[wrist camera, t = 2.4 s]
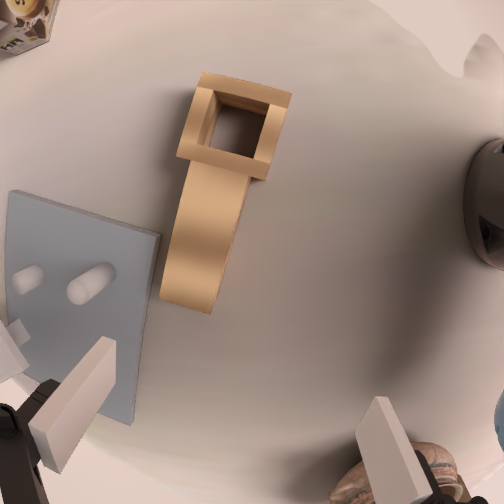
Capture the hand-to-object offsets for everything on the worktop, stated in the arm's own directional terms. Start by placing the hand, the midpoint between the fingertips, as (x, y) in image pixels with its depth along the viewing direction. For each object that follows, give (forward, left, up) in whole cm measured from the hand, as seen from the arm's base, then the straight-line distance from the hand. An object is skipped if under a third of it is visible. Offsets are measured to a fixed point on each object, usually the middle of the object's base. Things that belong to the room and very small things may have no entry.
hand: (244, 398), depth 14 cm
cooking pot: (+23, +28, -17) cm, 40 cm away
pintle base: (+11, -20, -16) cm, 29 cm away
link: (-7, -5, -16) cm, 19 cm away
